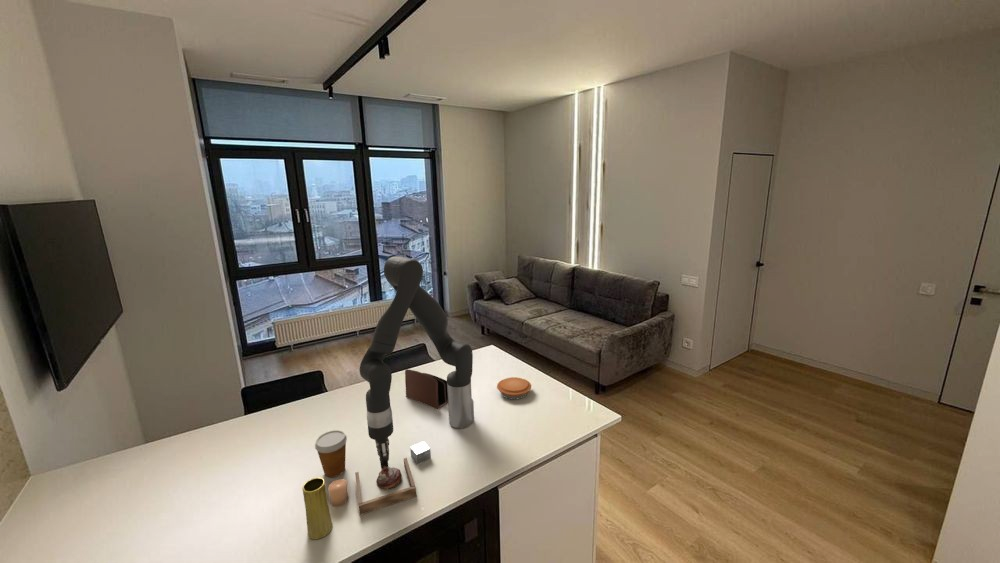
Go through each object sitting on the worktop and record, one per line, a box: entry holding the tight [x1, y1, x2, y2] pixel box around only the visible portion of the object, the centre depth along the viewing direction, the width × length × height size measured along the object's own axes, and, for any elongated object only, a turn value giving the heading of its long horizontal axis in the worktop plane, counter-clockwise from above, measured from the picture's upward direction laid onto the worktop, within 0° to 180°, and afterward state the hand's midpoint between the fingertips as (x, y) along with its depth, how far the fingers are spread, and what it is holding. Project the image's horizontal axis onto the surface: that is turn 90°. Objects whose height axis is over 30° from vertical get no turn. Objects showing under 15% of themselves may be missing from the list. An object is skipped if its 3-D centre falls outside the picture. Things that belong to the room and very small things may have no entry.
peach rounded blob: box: [328, 478, 349, 508], centre depth 111 cm, size 5×5×5 cm
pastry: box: [376, 466, 403, 491], centre depth 118 cm, size 8×8×5 cm
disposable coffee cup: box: [314, 429, 348, 478], centre depth 122 cm, size 10×10×12 cm
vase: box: [301, 477, 334, 540], centre depth 100 cm, size 6×6×14 cm
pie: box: [496, 376, 532, 400], centre depth 169 cm, size 15×16×5 cm
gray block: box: [409, 441, 432, 465], centre depth 128 cm, size 5×5×4 cm
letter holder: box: [404, 368, 448, 411], centre depth 165 cm, size 10×20×14 cm, turn 55°
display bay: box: [354, 457, 417, 516], centre depth 115 cm, size 16×14×3 cm
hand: (384, 467), depth 122 cm, fingers closed
